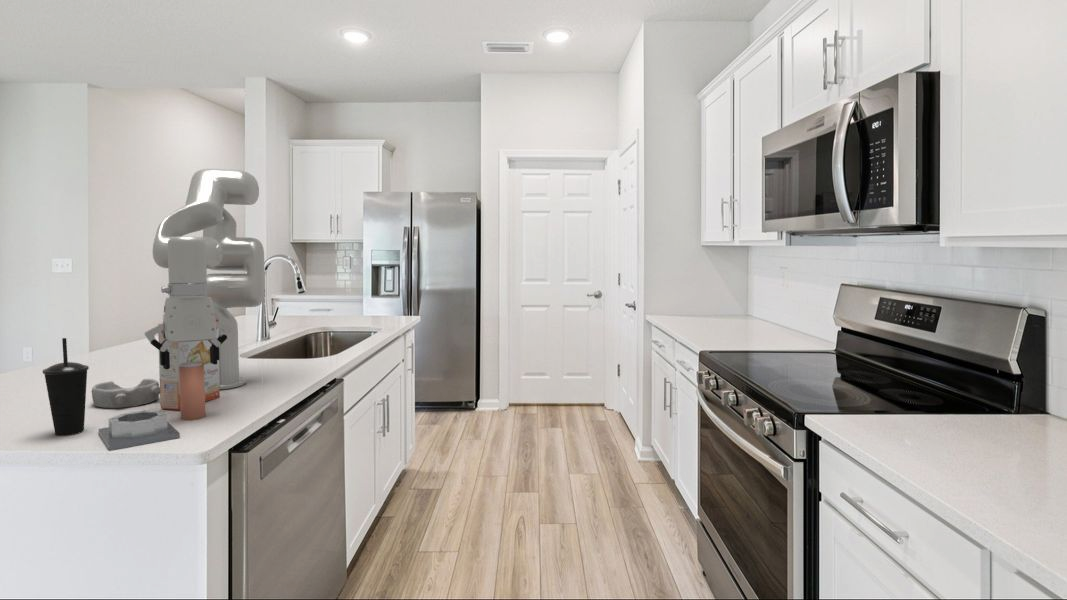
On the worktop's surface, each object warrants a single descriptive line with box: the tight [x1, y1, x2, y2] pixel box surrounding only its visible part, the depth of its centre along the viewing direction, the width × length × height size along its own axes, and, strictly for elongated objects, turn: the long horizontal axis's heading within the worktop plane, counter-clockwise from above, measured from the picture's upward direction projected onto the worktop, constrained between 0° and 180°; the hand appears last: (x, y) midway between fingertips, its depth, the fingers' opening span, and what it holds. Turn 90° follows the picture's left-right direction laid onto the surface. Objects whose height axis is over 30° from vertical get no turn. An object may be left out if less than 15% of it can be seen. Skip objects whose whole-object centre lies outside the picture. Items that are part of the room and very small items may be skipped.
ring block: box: [97, 409, 181, 451], centre depth 125 cm, size 14×12×4 cm
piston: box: [179, 361, 207, 421], centre depth 139 cm, size 5×5×13 cm
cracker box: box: [157, 319, 221, 411], centre depth 151 cm, size 14×6×21 cm, turn 168°
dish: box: [91, 378, 160, 409], centre depth 151 cm, size 14×14×5 cm
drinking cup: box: [42, 337, 90, 437], centre depth 126 cm, size 8×8×20 cm
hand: (190, 366), depth 138 cm, fingers open, 9 cm apart
